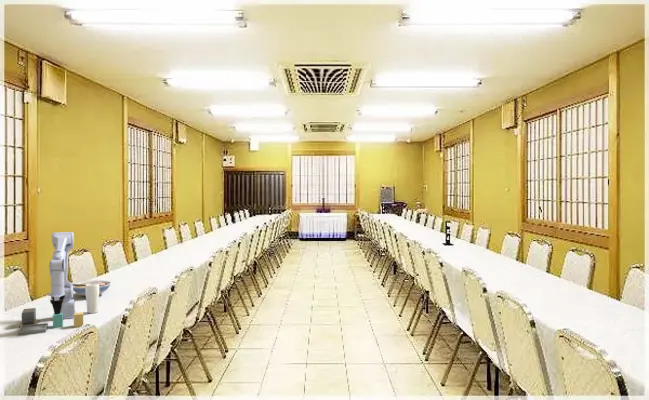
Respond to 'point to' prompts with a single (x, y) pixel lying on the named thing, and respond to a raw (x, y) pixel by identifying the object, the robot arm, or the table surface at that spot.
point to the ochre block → (78, 319)
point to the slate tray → (33, 328)
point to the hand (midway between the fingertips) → (57, 312)
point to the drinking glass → (92, 297)
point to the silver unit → (29, 317)
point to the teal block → (58, 320)
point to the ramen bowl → (80, 286)
